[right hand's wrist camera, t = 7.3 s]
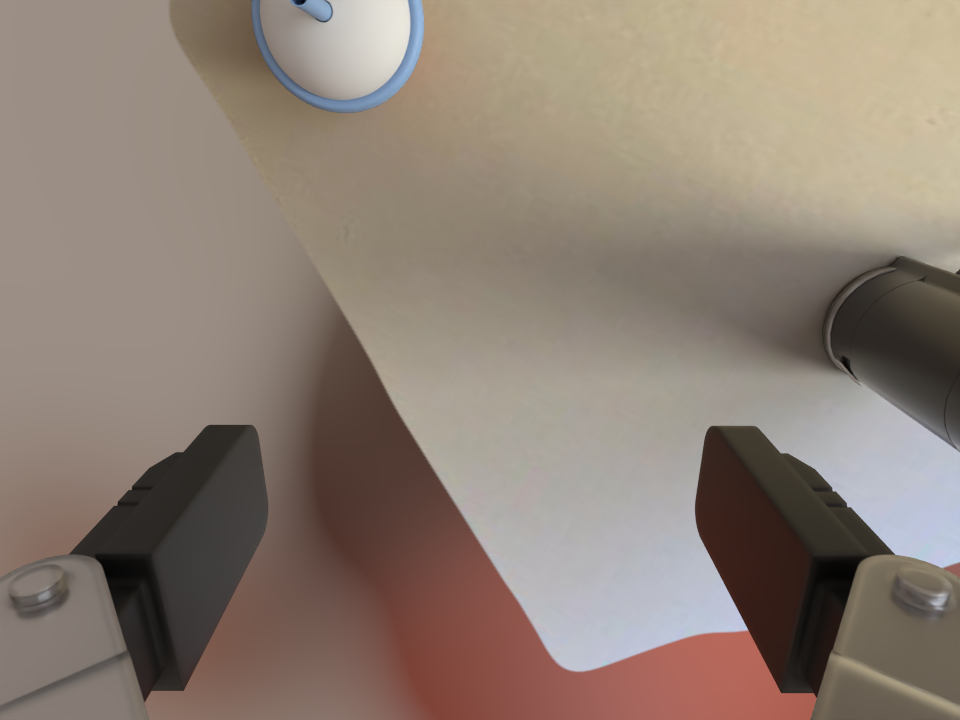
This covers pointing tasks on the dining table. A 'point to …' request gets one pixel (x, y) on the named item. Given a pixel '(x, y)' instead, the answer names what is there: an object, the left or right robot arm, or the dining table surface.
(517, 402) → the dining table surface
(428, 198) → the dining table surface
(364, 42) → the cup with straw
